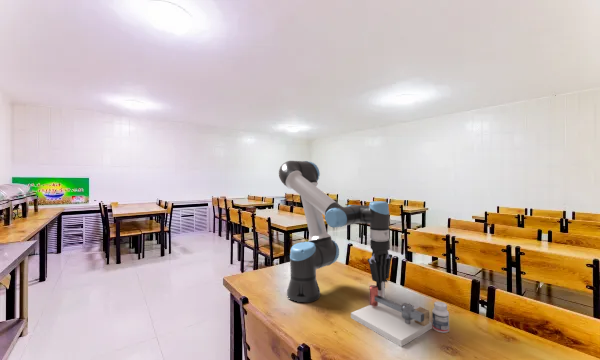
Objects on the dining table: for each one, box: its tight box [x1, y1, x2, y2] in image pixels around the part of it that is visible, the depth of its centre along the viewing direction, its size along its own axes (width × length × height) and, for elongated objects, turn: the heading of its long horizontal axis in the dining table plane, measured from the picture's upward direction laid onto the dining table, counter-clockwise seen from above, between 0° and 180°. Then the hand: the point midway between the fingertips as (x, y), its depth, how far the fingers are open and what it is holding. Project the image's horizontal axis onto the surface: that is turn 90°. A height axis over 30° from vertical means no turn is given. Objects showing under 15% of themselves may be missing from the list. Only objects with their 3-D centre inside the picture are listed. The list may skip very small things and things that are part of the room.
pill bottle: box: [431, 301, 450, 334], centre depth 96 cm, size 5×5×9 cm
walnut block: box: [414, 306, 430, 326], centre depth 96 cm, size 4×4×4 cm
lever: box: [369, 284, 424, 322], centre depth 101 cm, size 22×4×7 cm, turn 35°
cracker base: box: [350, 302, 433, 347], centre depth 100 cm, size 22×18×4 cm
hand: (381, 297), depth 111 cm, fingers closed
